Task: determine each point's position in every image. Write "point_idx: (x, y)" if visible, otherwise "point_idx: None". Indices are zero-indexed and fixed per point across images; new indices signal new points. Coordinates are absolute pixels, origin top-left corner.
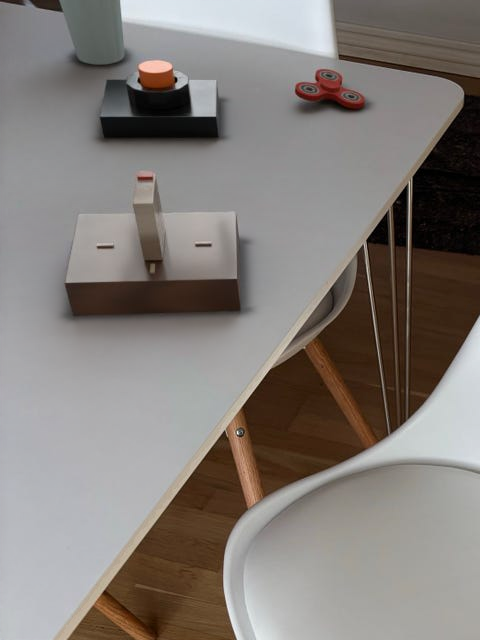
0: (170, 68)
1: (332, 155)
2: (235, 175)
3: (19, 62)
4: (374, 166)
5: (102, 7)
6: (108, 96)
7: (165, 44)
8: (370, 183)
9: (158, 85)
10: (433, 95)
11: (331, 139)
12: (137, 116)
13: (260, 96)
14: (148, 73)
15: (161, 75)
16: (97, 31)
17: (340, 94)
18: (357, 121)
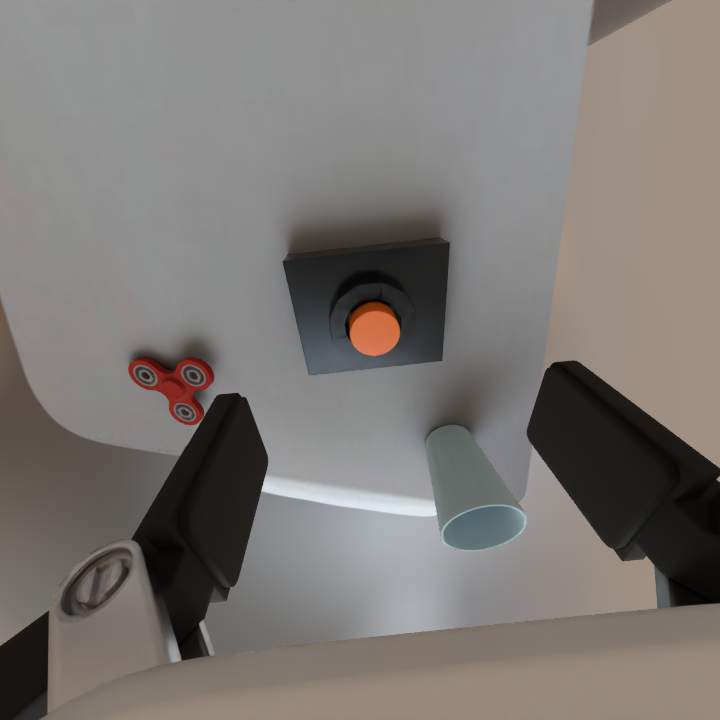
0: (351, 330)
1: (103, 207)
2: (226, 106)
3: (527, 420)
4: (14, 168)
5: (452, 470)
6: (438, 312)
7: (387, 470)
8: None
9: (368, 304)
10: (64, 403)
11: (130, 266)
12: (396, 248)
13: (266, 378)
14: (382, 311)
15: (363, 311)
16: (455, 448)
17: (157, 375)
18: (121, 325)
